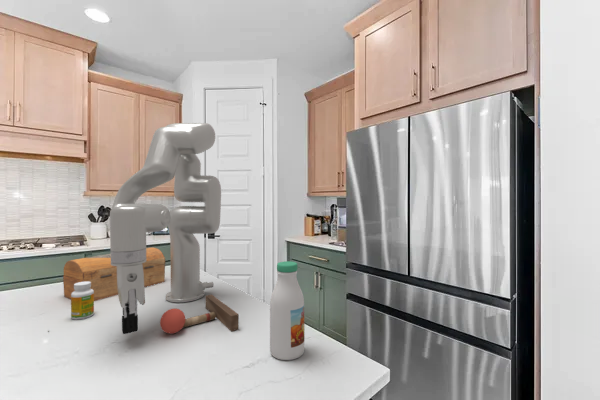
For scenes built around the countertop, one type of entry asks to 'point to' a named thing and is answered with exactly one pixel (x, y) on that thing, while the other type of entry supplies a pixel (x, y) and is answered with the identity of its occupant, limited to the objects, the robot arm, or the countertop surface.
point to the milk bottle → (287, 314)
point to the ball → (172, 321)
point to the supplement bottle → (82, 301)
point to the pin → (199, 319)
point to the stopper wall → (223, 312)
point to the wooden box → (109, 273)
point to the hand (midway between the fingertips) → (130, 331)
